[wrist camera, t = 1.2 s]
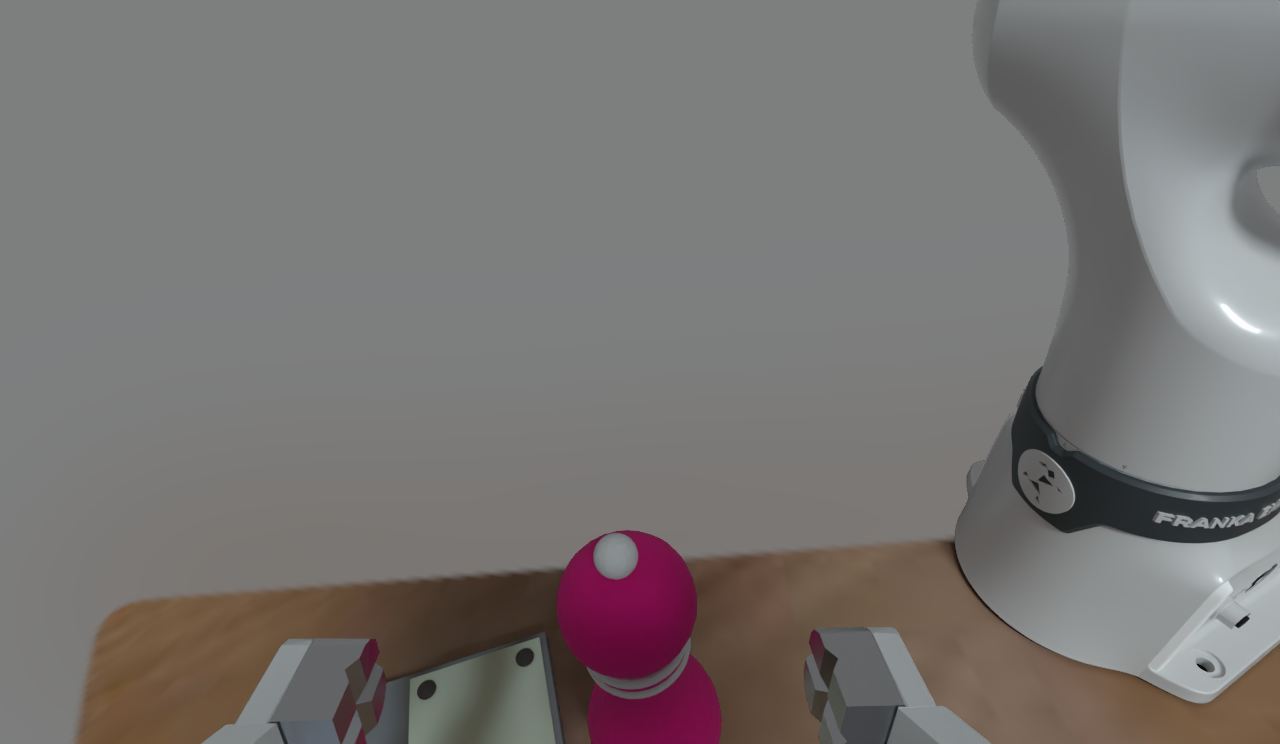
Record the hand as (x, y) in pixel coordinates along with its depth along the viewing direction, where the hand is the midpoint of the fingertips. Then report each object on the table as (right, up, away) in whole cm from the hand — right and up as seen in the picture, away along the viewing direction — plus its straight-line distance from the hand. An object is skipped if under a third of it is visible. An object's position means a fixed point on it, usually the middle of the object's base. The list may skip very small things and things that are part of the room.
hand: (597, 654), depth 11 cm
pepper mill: (+2, -17, +24) cm, 30 cm away
